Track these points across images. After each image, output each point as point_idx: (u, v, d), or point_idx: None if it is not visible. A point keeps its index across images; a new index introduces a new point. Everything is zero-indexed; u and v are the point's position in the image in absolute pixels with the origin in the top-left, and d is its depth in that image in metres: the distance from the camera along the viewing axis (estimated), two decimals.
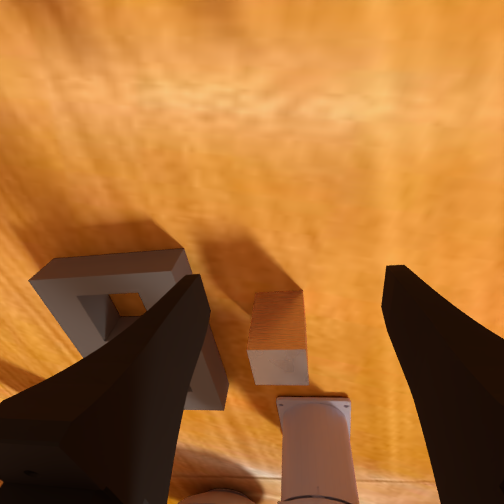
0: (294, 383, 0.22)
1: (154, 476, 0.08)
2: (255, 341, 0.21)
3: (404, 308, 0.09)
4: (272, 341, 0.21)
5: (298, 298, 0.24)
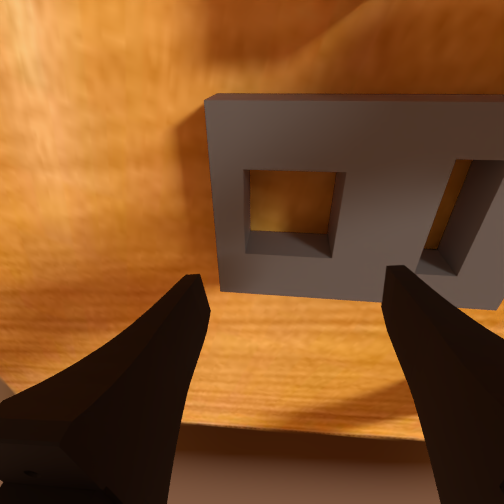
0: None
1: (154, 476, 0.08)
2: None
3: (404, 308, 0.09)
4: None
5: None
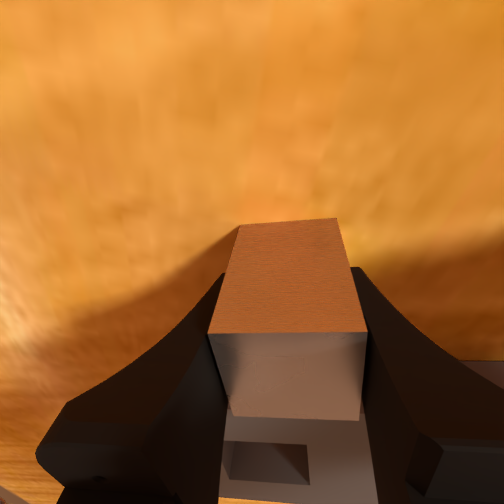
0: (356, 359, 0.08)
1: (208, 480, 0.08)
2: None
3: None
4: None
5: None
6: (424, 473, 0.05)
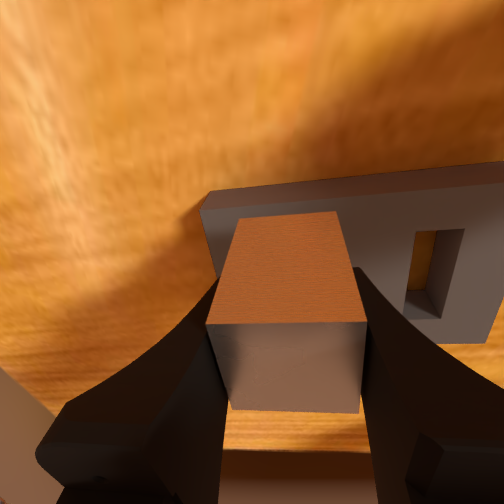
0: (356, 350, 0.08)
1: (208, 480, 0.08)
2: None
3: None
4: None
5: None
6: (424, 473, 0.05)
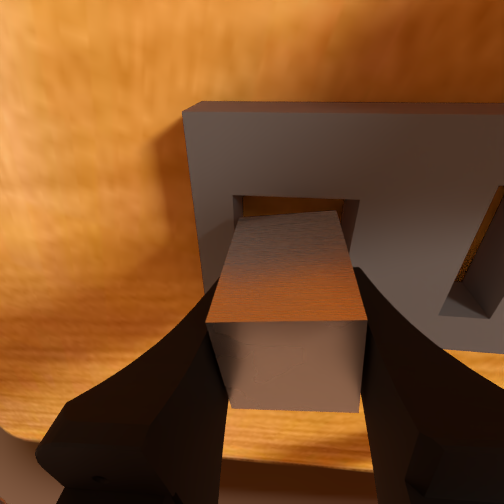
0: (356, 349, 0.08)
1: (208, 480, 0.08)
2: None
3: None
4: None
5: None
6: (424, 473, 0.05)
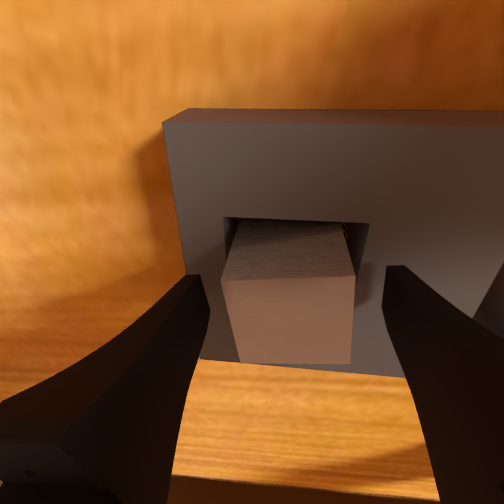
0: (347, 303, 0.09)
1: (154, 476, 0.08)
2: None
3: (404, 308, 0.09)
4: None
5: None
6: None
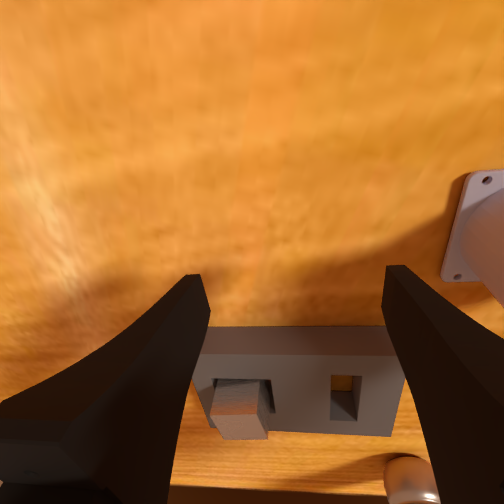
0: (257, 421, 0.24)
1: (154, 476, 0.08)
2: None
3: (403, 308, 0.09)
4: None
5: None
6: None
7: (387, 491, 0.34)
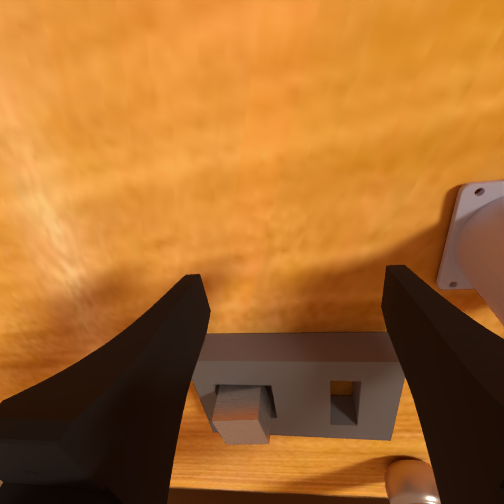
0: (258, 426, 0.25)
1: (154, 476, 0.08)
2: None
3: (404, 308, 0.09)
4: None
5: None
6: None
7: (388, 494, 0.35)
